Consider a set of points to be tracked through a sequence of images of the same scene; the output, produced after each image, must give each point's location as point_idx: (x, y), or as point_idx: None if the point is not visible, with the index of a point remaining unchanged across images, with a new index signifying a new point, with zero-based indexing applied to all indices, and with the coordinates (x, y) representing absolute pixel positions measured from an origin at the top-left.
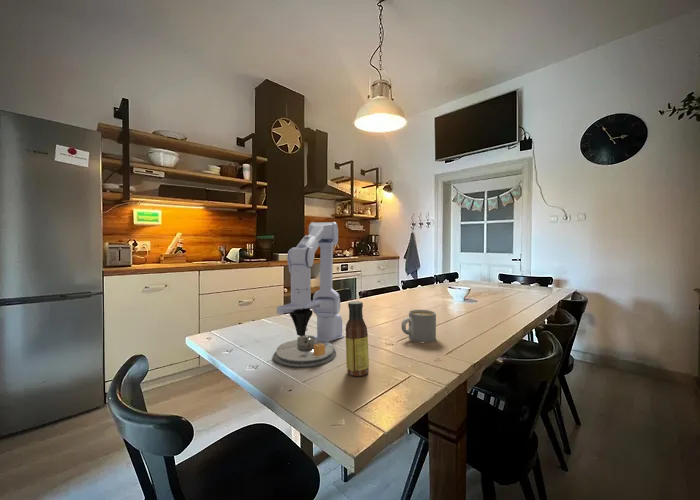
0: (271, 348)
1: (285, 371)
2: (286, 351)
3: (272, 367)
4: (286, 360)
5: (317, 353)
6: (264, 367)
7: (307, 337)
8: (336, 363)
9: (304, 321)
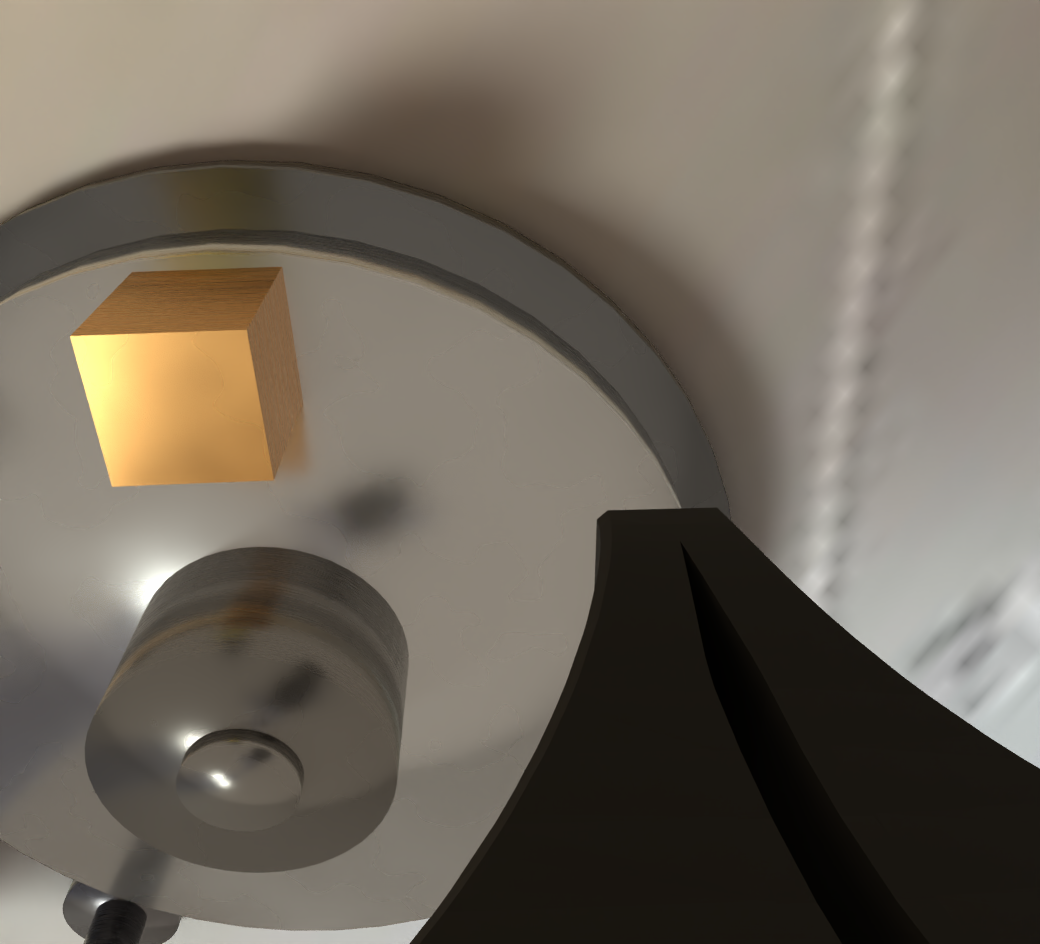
0: None
1: (819, 311)
2: None
3: (848, 516)
4: None
5: (278, 309)
6: (910, 570)
7: (235, 753)
8: (29, 40)
9: (740, 775)
